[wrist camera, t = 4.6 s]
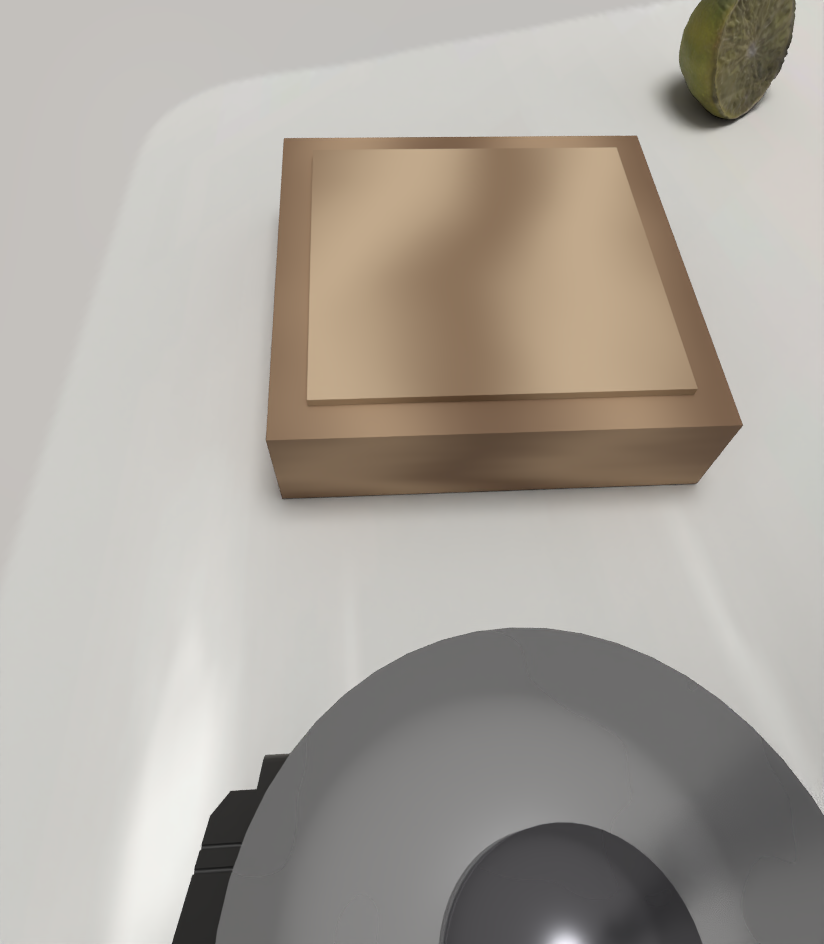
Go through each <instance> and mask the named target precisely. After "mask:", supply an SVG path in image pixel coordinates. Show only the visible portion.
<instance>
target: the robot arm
mask: <svg viewBox="0 0 824 944" xmlns="http://www.w3.org/2000/svg"><path fill="white" fill-rule="evenodd" d="M289 755H290V754H275V755H265V757H264V760H263V764H262V768H261V773H260V777H259V782H258V786H257V789H255V790H239V791H230V792H229V794H228V795H227V796H226V797H225V799H224V800H223V801H222V802H221V803H220V805H219V806H218V807H217V808H216V810H215V811H214V812H213V813H212V814H211V816H210V818H209V822H208V825H207V828H206V832H205V835H204V838H203V842H202V848H201V850H200V852H199V855H198V858H197V862H196V865H195V868H194V875H192V878H191V882H190V885H189V888H188V892H187V895H186V898H185V902H184V905H183V908H182V912H181V915H180V918H179V922H178V925H177V928H176V932H175V935H174V938H173V942H172V944H215V943H216V936H217V929H218V925H219V921H220V917H221V912H222V908H223V904H224V900H225V895H226V891H227V887H228V883H229V879H230V876H231V873H232V871H233V868H234V865H235V862H236V859H237V856H238V854H239V851H240V848H241V845H242V842H243V840H244V837H245V834H246V832H247V830H248V828H249V825H250V823H251V821H252V819H253V817H254V815H255V813H256V811H257V809H258V807H259V805H260V803H261V801H262V799H263V797H264V795H265V793H266V791H267V789H268V787H269V786H270V784H271V783H272V781H273V780H274V778H275V776H276V775H277V773H278V772H279V770H280V769H281V767H282V765H283V764H284V762H285V761H286V759H287V758H288V756H289Z"/></svg>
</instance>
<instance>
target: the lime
mask: <svg viewBox="0 0 824 944" xmlns="http://www.w3.org/2000/svg"><path fill="white" fill-rule="evenodd" d="M795 5H796V3H795V0H701V2H700V3H699V4H698V6H697V7H696V8H695V10H694V11H693V13H692V14H691V16H690V18H689V21H688V23H687V25H686V27H685V29H684V32H683V37H682V41H681V45H680V52H679V63H680V68H681V72H682V74H683V76H684V78H685V81H686V83H687V85H688V88H689V90H690V92H691V93H692V94H693V96H694V97H695V98H696V99H697V100H698V101H699V102H700V103H701V105H702V106H703V107H704V108H705V109H706V110H707V111H709V112H710V113H711V114H713V115H715V116H717V117H720V118H724V119H736V118H738V117H739V116H741V115H743V114H745V113H747V112H748V111H749V110H750V109H751V108H752V107H753V106H754V105H755V104H756V103H757V102H758V101H759V100H760V99H761V98H762V96H763V95H764V93H765V92H766V90H767V89H768V88H769V86H770V85H771V81H772V80H773V79H775V78H776V76H777V75H778V73H779V72H780V69H781V67H782V64H783V62H784V57H786V55H787V54H788V53H787V49H788V48H789V46H790V43H791V39H792V32H793V26H794V19H795V13H794V12H795V9H796V7H795Z"/></svg>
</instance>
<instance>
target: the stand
mask: <svg viewBox="0 0 824 944" xmlns="http://www.w3.org/2000/svg"><path fill="white" fill-rule="evenodd" d="M742 426H743V424H742V421H741V419H740V416H739V413H738V410H737V408H736V405H735V402H734V399H733V397H732V394H731V391H730V389H729V386H728V383H727V380H726V378H725V375H724V372H723V369H722V367H721V364H720V361H719V359H718V356H717V353H716V350H715V348H714V345H713V342H712V339H711V337H710V334H709V331H708V329H707V326H706V323H705V320H704V318H703V315H702V312H701V309H700V307H699V304H698V301H697V298H696V296H695V293H694V290H693V288H692V285H691V282H690V279H689V277H688V274H687V271H686V268H685V266H684V263H683V260H682V258H681V255H680V252H679V249H678V247H677V244H676V241H675V238H674V236H673V233H672V230H671V228H670V225H669V222H668V219H667V217H666V214H665V211H664V208H663V206H662V203H661V200H660V197H659V195H658V192H657V189H656V187H655V184H654V181H653V178H652V176H651V173H650V170H649V167H648V165H647V162H646V159H645V157H644V154H643V151H642V148H641V146H640V143H639V140H638V137H637V136H533V137H396V138H284V145H283V162H282V179H281V196H280V212H279V229H278V246H277V263H276V280H275V297H274V314H273V330H272V347H271V364H270V381H269V398H268V415H267V431H266V442H267V446H268V449H269V453H270V457H271V460H272V464H273V467H274V471H275V474H276V478H277V481H278V485H279V488H280V492H281V496H282V499H283V498H310V497H338V496H365V495H392V494H420V493H447V492H474V491H502V490H529V489H556V488H584V487H611V486H638V485H666V484H693V483H697V482H698V481H699V480H700V479H701V477H702V476H703V475H704V474H705V472H706V471H707V470H708V469H709V467H710V466H711V465H712V464H713V462H714V461H715V460H716V459H717V457H718V456H719V455H720V454H721V452H722V451H723V450H724V448H725V447H726V446H727V445H728V443H729V442H730V441H731V440H732V438H733V437H734V436H735V435H736V433H737V432H738V431H739V430H740V428H741V427H742Z"/></svg>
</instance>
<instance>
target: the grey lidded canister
mask: <svg viewBox="0 0 824 944" xmlns="http://www.w3.org/2000/svg"><path fill="white" fill-rule="evenodd" d="M215 944H824V815H823V814H822V812H821V810H820V809H819V807H818V806H817V804H816V802H815V801H814V799H813V798H812V796H811V795H810V794H809V792H808V791H807V790H806V789H805V787H804V786H803V785H802V783H801V782H800V781H799V780H798V778H797V777H796V776H795V774H794V773H793V772H792V770H791V769H790V768H789V767H788V765H787V764H786V763H785V761H784V760H783V759H782V758H781V757H780V756H779V755H778V754H777V753H776V752H775V751H774V750H773V748H772V747H771V746H770V745H769V744H768V743H767V742H766V741H765V740H764V739H763V738H762V737H761V736H760V735H759V734H758V733H757V732H756V731H755V729H754V728H753V727H752V726H750V725H749V724H748V723H747V722H746V721H745V720H743V719H742V718H741V717H740V716H739V715H738V714H736V713H735V712H734V711H733V710H732V709H731V708H729V707H728V706H727V705H726V704H725V703H724V702H723V701H721V700H720V699H719V698H717V697H716V696H714V695H713V694H712V693H710V692H709V691H707V690H706V689H704V688H703V687H702V686H700V685H699V684H697V683H696V682H694V681H693V680H691V679H690V678H689V677H687V676H685V675H684V674H682V673H680V672H678V671H676V670H674V669H673V668H671V667H669V666H667V665H665V664H663V663H662V662H660V661H658V660H656V659H654V658H652V657H650V656H648V655H645V654H643V653H640V652H638V651H635V650H633V649H630V648H628V647H625V646H623V645H620V644H618V643H615V642H611V641H607V640H604V639H600V638H596V637H593V636H589V635H585V634H582V633H575V632H568V631H561V630H554V629H547V628H504V629H495V630H486V631H477V632H472V633H468V634H464V635H460V636H456V637H452V638H448V639H444V640H441V641H438V642H436V643H433V644H431V645H428V646H425V647H423V648H420V649H418V650H415V651H413V652H410V653H408V654H406V655H404V656H402V657H401V658H399V659H397V660H395V661H393V662H392V663H390V664H388V665H386V666H384V667H383V668H381V669H379V670H377V671H376V672H374V673H373V674H371V675H370V676H369V677H367V678H366V679H365V680H363V681H362V682H361V683H359V684H358V685H357V686H355V687H354V688H353V689H351V690H350V691H349V692H347V693H346V694H345V695H344V696H343V697H341V698H340V699H339V700H338V701H337V702H336V703H335V704H334V705H333V706H332V707H331V708H330V709H329V710H328V711H327V712H326V713H325V714H324V715H323V716H322V717H321V718H320V719H318V720H317V721H316V723H315V724H314V725H313V726H312V727H311V729H310V730H309V731H308V732H307V734H306V735H305V736H304V737H303V738H302V740H301V741H300V742H299V743H298V745H297V746H296V747H295V748H294V749H293V751H292V752H291V753H290V755H289V756H288V758H287V759H286V761H285V762H284V764H283V765H282V767H281V769H280V770H279V772H278V773H277V775H276V776H275V778H274V780H273V781H272V783H271V784H270V786H269V787H268V789H267V791H266V793H265V795H264V797H263V799H262V801H261V803H260V805H259V807H258V809H257V811H256V813H255V815H254V817H253V819H252V821H251V823H250V825H249V828H248V830H247V832H246V834H245V837H244V840H243V842H242V845H241V848H240V851H239V854H238V856H237V859H236V862H235V865H234V868H233V871H232V873H231V876H230V879H229V883H228V887H227V891H226V895H225V900H224V904H223V908H222V912H221V917H220V921H219V925H218V929H217V936H216V943H215Z"/></svg>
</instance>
